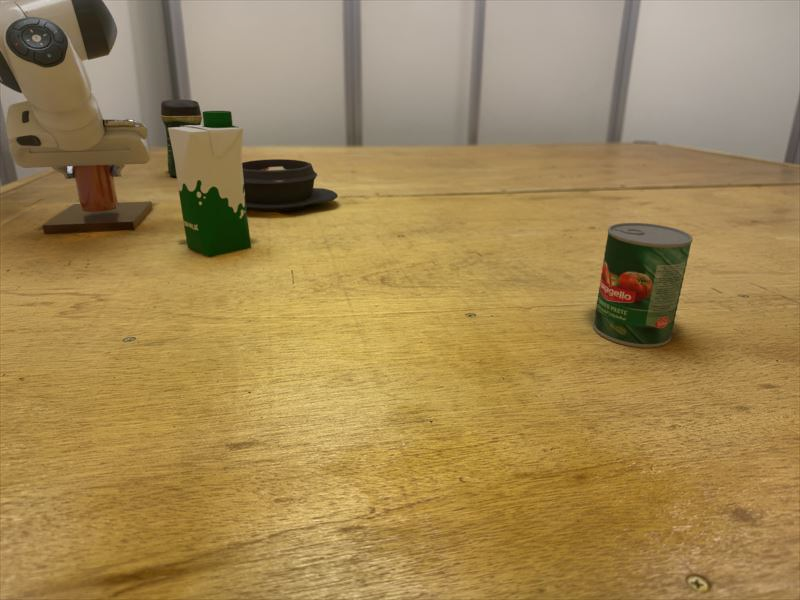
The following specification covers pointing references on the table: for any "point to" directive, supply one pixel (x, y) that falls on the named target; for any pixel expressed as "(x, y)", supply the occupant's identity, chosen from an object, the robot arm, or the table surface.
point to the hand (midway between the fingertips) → (94, 174)
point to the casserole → (281, 185)
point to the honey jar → (95, 188)
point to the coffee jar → (178, 121)
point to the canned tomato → (641, 283)
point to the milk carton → (211, 184)
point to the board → (99, 219)
